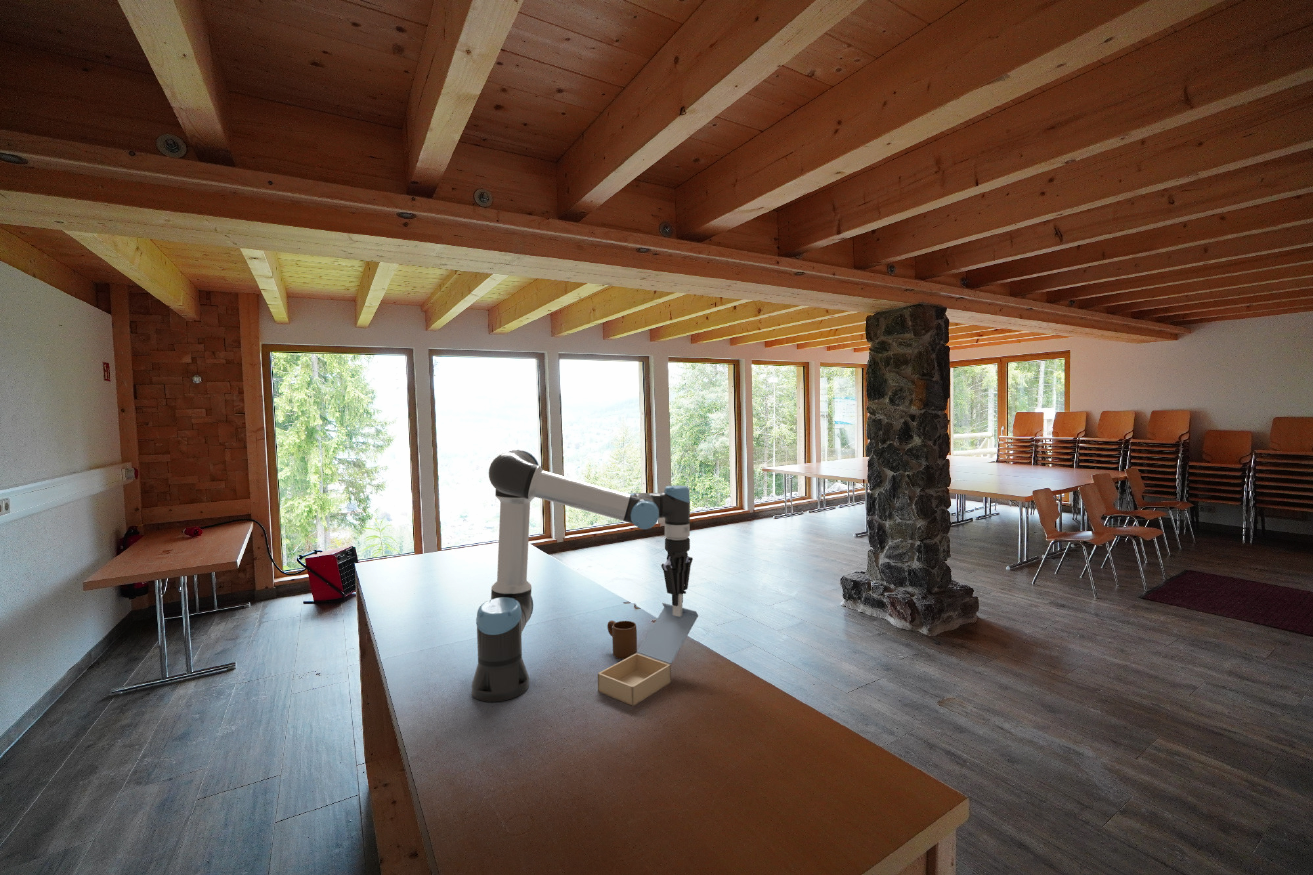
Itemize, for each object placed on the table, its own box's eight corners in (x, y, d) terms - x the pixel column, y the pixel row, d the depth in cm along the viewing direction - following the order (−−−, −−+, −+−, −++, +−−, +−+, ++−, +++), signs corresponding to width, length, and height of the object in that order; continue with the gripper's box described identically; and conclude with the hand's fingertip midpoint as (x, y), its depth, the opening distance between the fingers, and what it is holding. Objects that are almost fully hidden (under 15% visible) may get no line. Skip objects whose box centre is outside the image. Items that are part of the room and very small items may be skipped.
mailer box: (633, 706, 141) (632, 687, 141) (597, 691, 149) (597, 673, 149) (670, 682, 153) (670, 664, 153) (636, 669, 161) (636, 653, 161)
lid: (696, 611, 162) (698, 615, 164) (662, 602, 170) (665, 607, 171) (668, 659, 152) (671, 664, 153) (634, 647, 160) (637, 652, 161)
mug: (599, 650, 175) (598, 621, 175) (617, 643, 180) (617, 615, 180) (623, 662, 166) (622, 631, 166) (642, 654, 172) (641, 624, 171)
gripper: (674, 542, 158) (674, 624, 158) (699, 535, 168) (699, 612, 168) (654, 539, 163) (654, 618, 163) (680, 532, 173) (680, 607, 173)
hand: (677, 615), depth 166 cm, fingers closed
